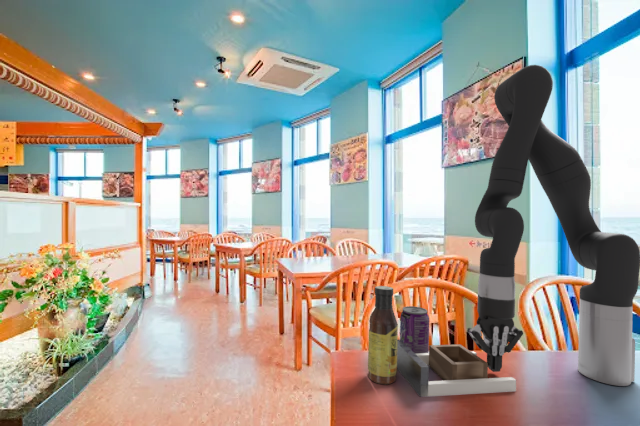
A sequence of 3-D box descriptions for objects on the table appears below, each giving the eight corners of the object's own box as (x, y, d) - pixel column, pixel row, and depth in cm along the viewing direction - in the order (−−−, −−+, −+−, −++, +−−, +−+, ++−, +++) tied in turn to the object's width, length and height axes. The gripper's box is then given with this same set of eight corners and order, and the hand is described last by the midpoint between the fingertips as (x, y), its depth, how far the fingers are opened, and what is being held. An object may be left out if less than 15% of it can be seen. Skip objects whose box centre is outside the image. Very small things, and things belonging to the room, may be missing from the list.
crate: (459, 365, 78) (460, 344, 78) (487, 387, 68) (487, 363, 68) (428, 366, 77) (429, 345, 77) (452, 388, 67) (452, 364, 67)
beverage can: (403, 348, 87) (405, 304, 87) (431, 355, 84) (432, 308, 84) (395, 358, 81) (397, 310, 81) (424, 365, 78) (425, 315, 78)
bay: (473, 361, 81) (473, 337, 81) (516, 392, 67) (516, 362, 67) (393, 364, 78) (393, 339, 78) (420, 397, 64) (421, 367, 64)
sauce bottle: (397, 388, 67) (399, 292, 67) (366, 384, 68) (369, 290, 68) (396, 373, 73) (398, 285, 74) (368, 369, 75) (370, 283, 75)
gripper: (510, 290, 79) (508, 361, 78) (460, 290, 77) (457, 363, 77) (535, 298, 71) (532, 377, 71) (480, 298, 69) (478, 379, 69)
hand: (494, 370), depth 74 cm, fingers closed
